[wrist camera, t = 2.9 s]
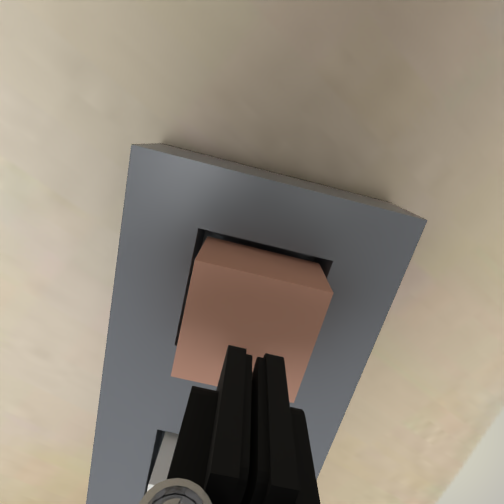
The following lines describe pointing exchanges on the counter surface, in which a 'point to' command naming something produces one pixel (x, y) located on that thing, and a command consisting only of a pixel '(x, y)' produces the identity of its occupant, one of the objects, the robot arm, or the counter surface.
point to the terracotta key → (250, 311)
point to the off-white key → (163, 459)
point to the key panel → (178, 280)
